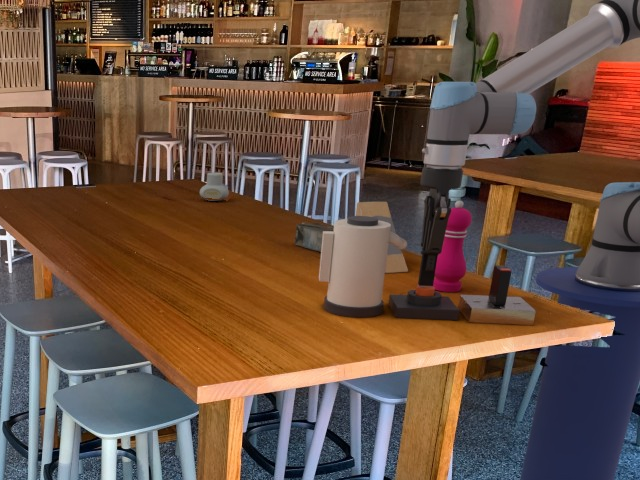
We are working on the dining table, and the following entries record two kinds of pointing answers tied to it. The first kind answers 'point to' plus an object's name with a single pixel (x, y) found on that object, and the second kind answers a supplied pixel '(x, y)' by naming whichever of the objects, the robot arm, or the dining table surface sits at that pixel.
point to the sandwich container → (382, 213)
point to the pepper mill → (452, 251)
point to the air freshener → (214, 187)
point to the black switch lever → (499, 285)
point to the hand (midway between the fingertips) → (425, 284)
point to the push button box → (423, 306)
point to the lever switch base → (496, 310)
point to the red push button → (425, 290)
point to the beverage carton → (311, 235)
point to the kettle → (356, 265)
